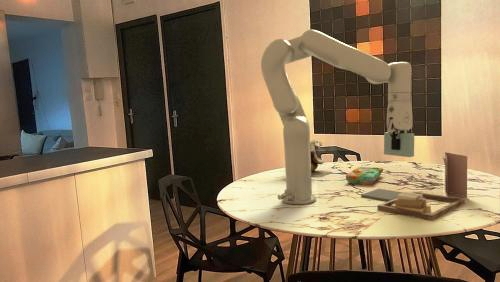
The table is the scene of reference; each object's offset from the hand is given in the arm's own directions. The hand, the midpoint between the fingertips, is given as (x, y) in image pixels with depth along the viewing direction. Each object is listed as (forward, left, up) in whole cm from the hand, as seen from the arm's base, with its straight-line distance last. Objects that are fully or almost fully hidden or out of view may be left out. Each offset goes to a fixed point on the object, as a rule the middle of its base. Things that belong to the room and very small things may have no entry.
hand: (398, 148), depth 148 cm
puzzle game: (+20, +28, -19) cm, 39 cm away
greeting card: (+16, -13, -19) cm, 28 cm away
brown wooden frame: (-5, -11, -18) cm, 22 cm away
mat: (0, +6, -18) cm, 19 cm away
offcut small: (-11, -10, -15) cm, 21 cm away
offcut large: (-12, -10, -19) cm, 25 cm away
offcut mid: (-11, -10, -17) cm, 23 cm away
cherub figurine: (+17, +57, -19) cm, 62 cm away
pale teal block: (0, 0, -2) cm, 2 cm away
